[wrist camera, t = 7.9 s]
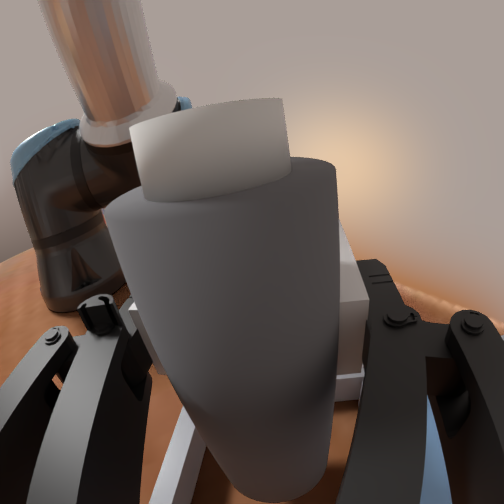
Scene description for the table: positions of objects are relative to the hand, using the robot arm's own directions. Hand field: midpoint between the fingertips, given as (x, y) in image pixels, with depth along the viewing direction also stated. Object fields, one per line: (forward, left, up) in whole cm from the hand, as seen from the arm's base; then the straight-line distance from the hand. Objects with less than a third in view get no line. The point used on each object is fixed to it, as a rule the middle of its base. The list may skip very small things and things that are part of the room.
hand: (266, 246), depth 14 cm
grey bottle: (+6, 0, -9) cm, 10 cm away
